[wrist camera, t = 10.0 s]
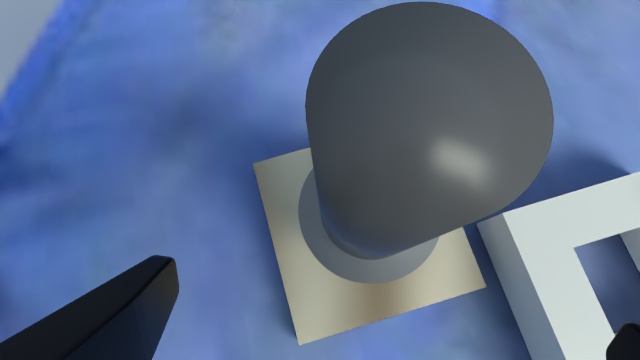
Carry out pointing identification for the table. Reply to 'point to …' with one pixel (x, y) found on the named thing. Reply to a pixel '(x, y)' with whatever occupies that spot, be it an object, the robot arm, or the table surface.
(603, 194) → the socket block
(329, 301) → the birch board
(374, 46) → the plug
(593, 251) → the table surface
